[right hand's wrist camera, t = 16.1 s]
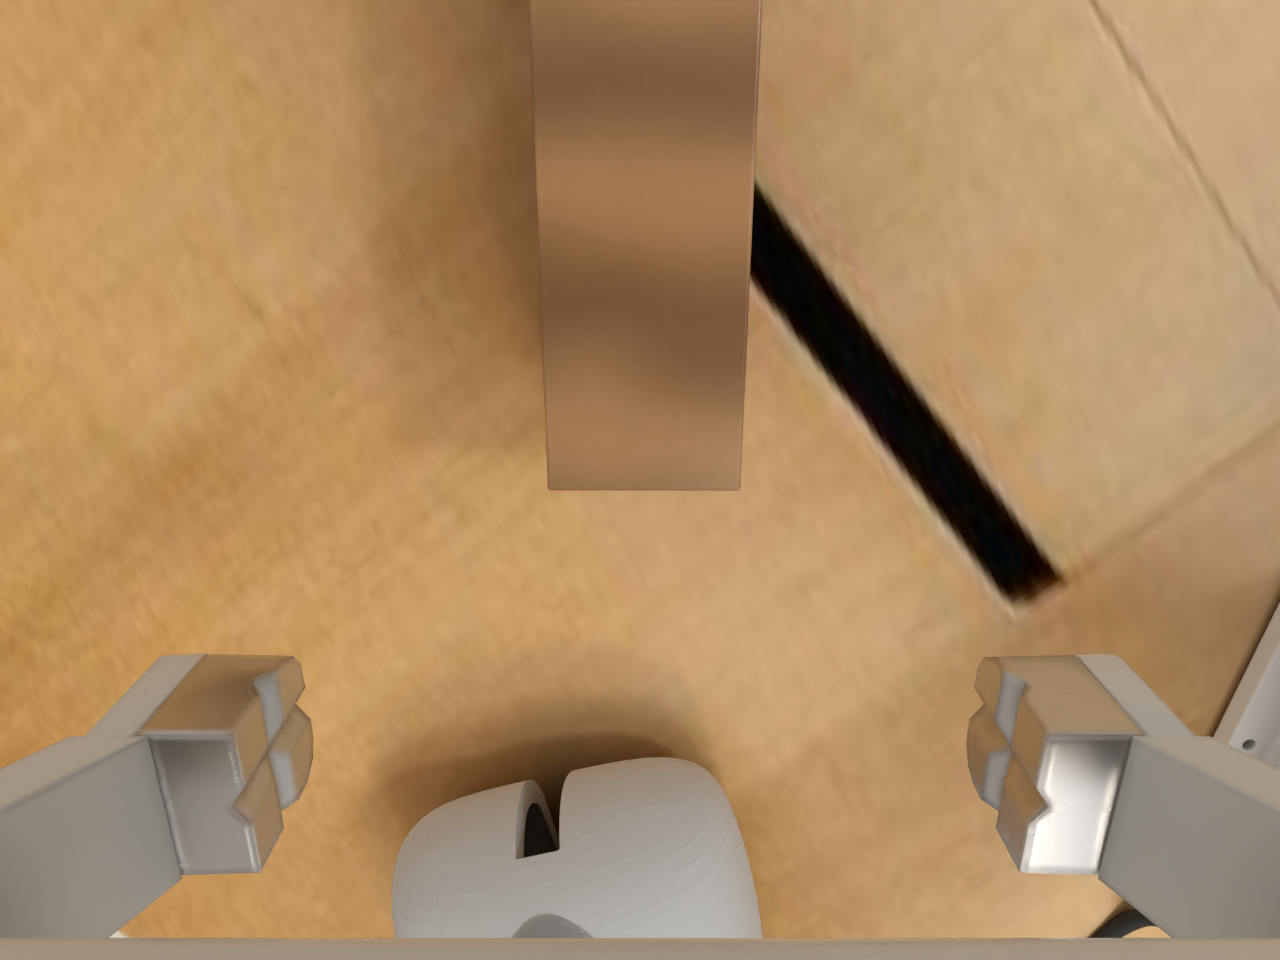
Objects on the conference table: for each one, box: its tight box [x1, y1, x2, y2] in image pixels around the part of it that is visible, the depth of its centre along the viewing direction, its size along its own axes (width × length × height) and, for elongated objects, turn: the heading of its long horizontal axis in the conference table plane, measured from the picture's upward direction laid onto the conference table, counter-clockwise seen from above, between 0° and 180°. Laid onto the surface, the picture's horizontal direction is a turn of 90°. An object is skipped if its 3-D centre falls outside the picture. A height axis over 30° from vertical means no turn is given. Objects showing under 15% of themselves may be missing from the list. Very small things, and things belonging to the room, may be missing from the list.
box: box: [529, 0, 762, 490], centre depth 28 cm, size 22×6×10 cm, turn 0°
